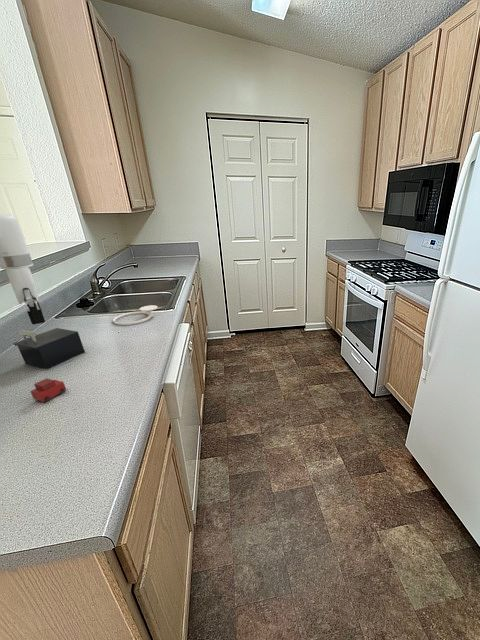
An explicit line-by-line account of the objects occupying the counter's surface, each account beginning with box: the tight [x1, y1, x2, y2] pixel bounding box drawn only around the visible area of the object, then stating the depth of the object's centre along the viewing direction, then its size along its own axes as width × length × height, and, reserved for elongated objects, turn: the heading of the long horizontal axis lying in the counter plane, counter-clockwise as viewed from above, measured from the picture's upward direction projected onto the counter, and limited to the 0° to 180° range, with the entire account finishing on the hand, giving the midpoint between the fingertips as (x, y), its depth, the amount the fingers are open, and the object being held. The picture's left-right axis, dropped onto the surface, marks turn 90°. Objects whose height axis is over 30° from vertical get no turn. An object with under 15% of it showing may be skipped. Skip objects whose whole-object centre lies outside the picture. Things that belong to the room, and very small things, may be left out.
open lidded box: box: [17, 333, 86, 370], centre depth 119 cm, size 14×11×8 cm
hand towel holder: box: [112, 304, 158, 326], centre depth 158 cm, size 17×4×21 cm
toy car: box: [30, 377, 67, 403], centre depth 97 cm, size 7×4×5 cm, turn 159°
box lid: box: [13, 327, 79, 350], centre depth 116 cm, size 15×11×5 cm
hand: (37, 319), depth 101 cm, fingers open, 9 cm apart
